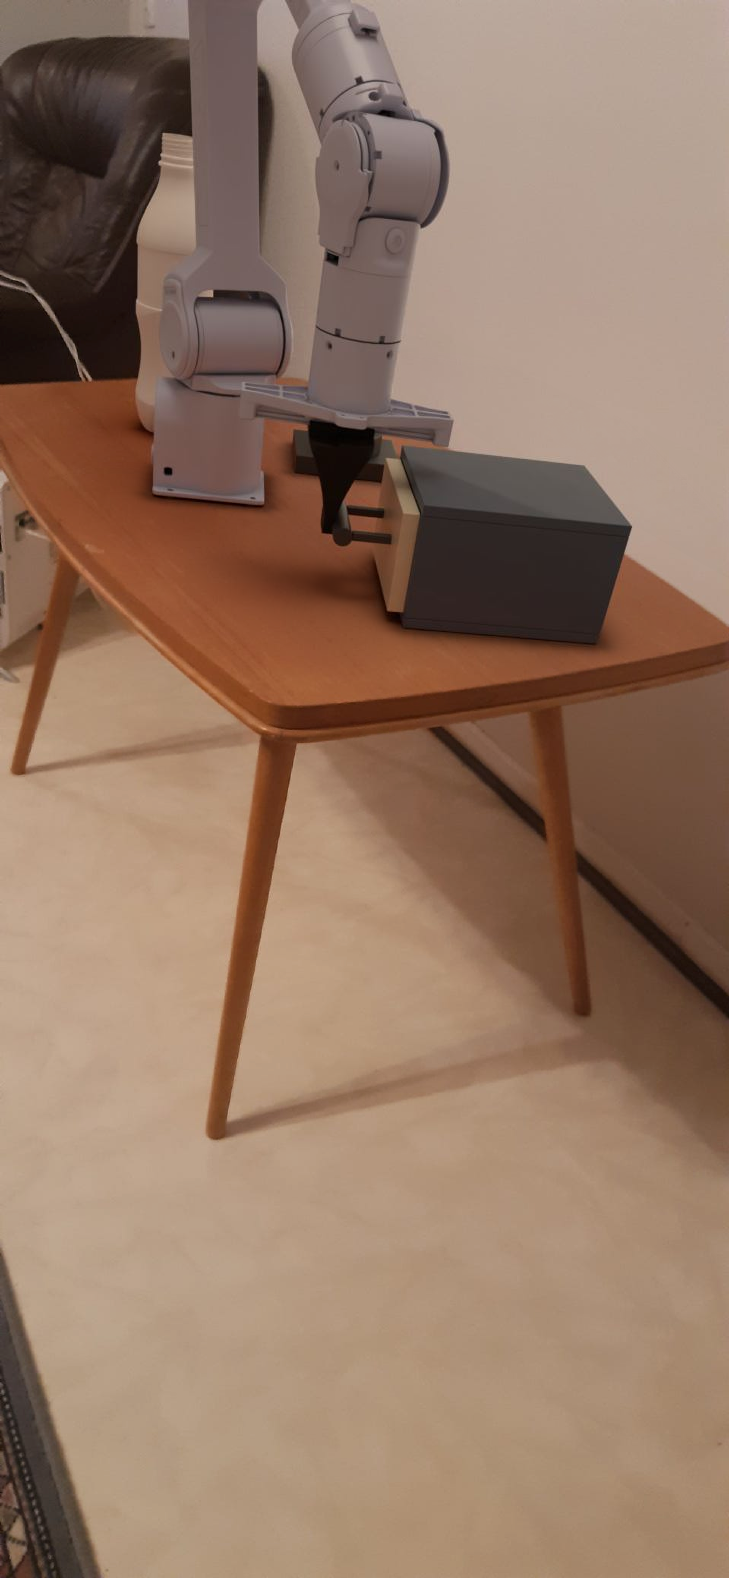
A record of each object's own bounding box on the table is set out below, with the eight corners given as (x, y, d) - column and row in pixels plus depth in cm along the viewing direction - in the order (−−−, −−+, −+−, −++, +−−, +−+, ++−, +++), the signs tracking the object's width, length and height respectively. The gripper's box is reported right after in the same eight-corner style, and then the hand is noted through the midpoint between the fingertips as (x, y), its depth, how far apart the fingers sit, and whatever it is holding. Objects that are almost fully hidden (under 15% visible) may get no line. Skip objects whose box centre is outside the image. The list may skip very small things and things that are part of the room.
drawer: (328, 606, 72) (341, 506, 68) (319, 543, 81) (330, 451, 77) (568, 627, 75) (594, 532, 71) (533, 563, 84) (555, 476, 80)
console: (294, 472, 97) (298, 435, 95) (291, 446, 103) (295, 410, 101) (398, 483, 98) (404, 447, 96) (389, 456, 105) (394, 422, 103)
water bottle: (176, 446, 98) (185, 141, 84) (119, 426, 101) (119, 127, 87) (222, 433, 104) (238, 144, 89) (168, 414, 106) (175, 131, 92)
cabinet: (402, 628, 73) (424, 504, 68) (384, 556, 83) (401, 445, 78) (597, 644, 75) (632, 526, 70) (556, 573, 85) (584, 465, 80)
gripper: (246, 329, 63) (228, 538, 71) (475, 364, 65) (433, 563, 73) (248, 305, 68) (231, 501, 76) (458, 338, 71) (421, 525, 78)
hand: (329, 529), depth 75 cm, fingers closed, pressing on drawer
